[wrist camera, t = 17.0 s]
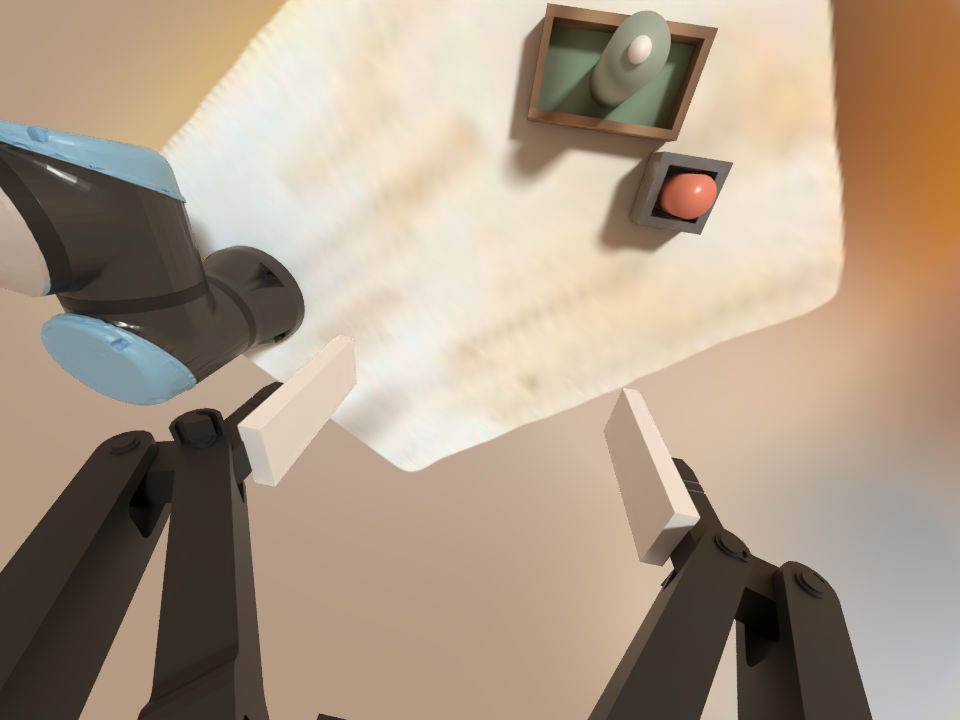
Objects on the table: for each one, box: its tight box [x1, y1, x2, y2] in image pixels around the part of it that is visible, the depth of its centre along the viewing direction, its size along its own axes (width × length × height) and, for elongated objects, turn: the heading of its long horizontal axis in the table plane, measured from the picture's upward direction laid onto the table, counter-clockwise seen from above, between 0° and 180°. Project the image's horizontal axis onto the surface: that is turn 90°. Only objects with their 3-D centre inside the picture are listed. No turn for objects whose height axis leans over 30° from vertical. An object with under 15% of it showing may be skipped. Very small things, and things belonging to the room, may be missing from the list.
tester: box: [629, 152, 733, 235], centre depth 38 cm, size 7×7×4 cm
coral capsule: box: [655, 173, 717, 219], centre depth 36 cm, size 4×4×6 cm
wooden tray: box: [528, 3, 718, 142], centre depth 34 cm, size 16×9×2 cm, turn 82°
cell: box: [590, 11, 671, 108], centre depth 30 cm, size 5×5×11 cm
